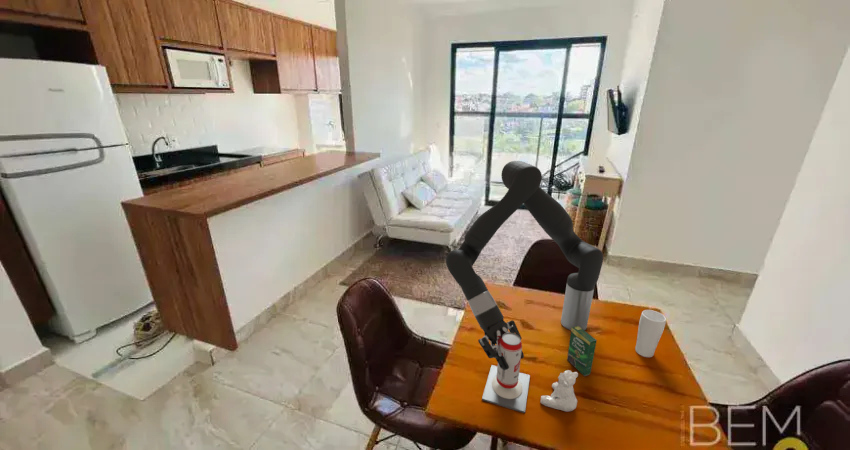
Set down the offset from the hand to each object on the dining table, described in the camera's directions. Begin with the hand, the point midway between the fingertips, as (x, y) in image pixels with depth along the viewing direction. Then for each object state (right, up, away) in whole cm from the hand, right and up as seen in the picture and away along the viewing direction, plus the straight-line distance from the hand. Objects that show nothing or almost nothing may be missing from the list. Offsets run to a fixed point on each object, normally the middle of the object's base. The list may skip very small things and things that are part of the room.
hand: (514, 363), depth 95 cm
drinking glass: (+49, -4, +18) cm, 52 cm away
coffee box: (+24, -6, +13) cm, 28 cm away
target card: (-1, -9, +5) cm, 11 cm away
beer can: (-1, -8, +4) cm, 9 cm away
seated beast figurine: (+13, -11, 0) cm, 17 cm away
